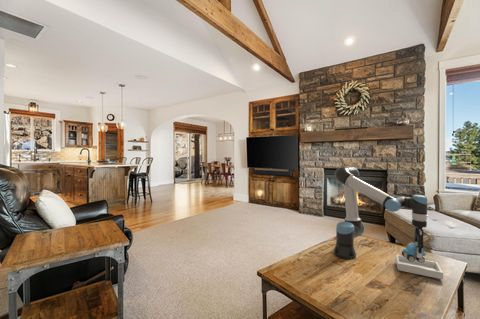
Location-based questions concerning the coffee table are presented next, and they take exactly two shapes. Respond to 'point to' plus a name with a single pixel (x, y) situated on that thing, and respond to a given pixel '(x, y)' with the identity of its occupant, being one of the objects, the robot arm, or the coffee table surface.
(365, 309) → the coffee table surface
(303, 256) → the coffee table surface
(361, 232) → the robot arm
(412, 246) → the toy excavator
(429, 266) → the white tray
